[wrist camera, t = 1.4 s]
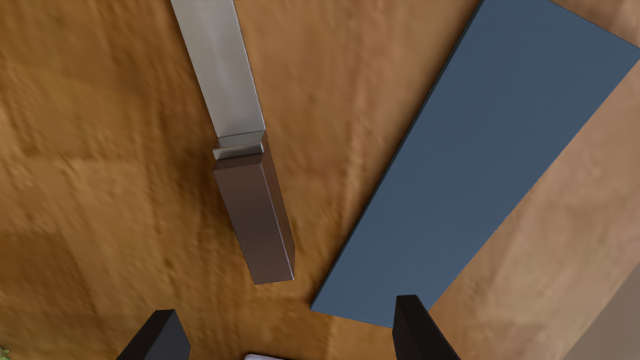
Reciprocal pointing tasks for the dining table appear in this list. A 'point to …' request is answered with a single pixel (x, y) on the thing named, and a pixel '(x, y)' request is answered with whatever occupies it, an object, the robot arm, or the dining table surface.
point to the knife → (238, 137)
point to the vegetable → (4, 354)
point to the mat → (473, 152)
